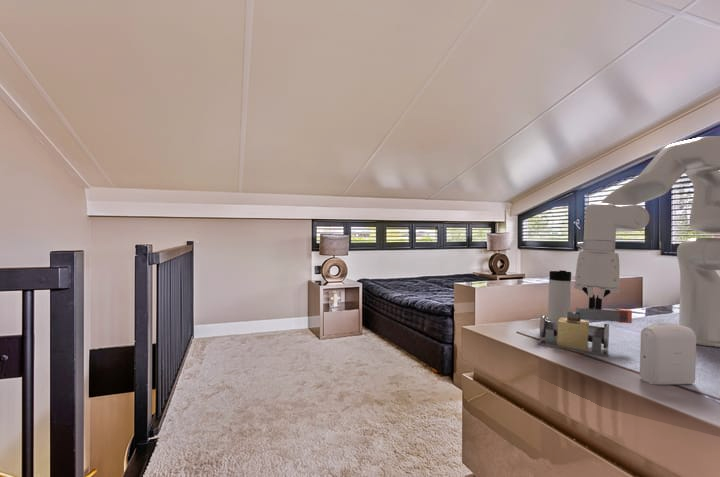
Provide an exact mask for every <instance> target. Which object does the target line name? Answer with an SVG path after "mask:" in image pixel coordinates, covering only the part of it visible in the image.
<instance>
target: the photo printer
mask: <svg viewBox="0 0 720 477" xmlns="http://www.w3.org/2000/svg"><path fill="white" fill-rule="evenodd" d="M639 348H640V353H639V354H640V356H639V357H640V358H639V376H640V378H641V380H642V381H643V382H646V384H647V383H648V384H651V385H688V384H689V385H691V384H695V382H696V366H697V365H696V364H697V361H696V360H697V354H696V353H697V344H696V335H695V333H694V332H693V330H692V329H690V328H688V327H685V326H682V325H679V323H675V322H674V323H672V322H658V323H654V324H650V325H647V326H645V327H643V328H642V329H641V332H640V346H639Z"/></svg>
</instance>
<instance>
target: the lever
mask: <svg viewBox="0 0 720 477" xmlns="http://www.w3.org/2000/svg"><path fill="white" fill-rule="evenodd" d="M575 309H576V310H575V311H570V312H567V320H570V321H580V320H586V321H601V322H614V323H615V322H616V323H617V322H618V323H620V324H621V323H622V324H623V323H624V324H632V323H633V322H632V320H633V319H632V318H633V310H631V309H628V308H615V309H614V308H589V307H582V306H581V307H580V306H576V308H575Z"/></svg>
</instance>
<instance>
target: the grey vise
mask: <svg viewBox="0 0 720 477" xmlns="http://www.w3.org/2000/svg"><path fill="white" fill-rule="evenodd" d="M609 334H610V325H609V323H604V324H603V327H602V326H597V325H590V320H583V319H581V320H580V321H570V320H567V318H564V317H560V319H559V320H558V321H556V320H549V319H548V317H547V315H545V314H541V316H540V321H539V337H540V339H539V341H537V342H538V343H537V344H538V346H539V345H540V346H545V347H550V348H556V349H561V350H567V351H572V352H577V353H578V352H579V353H583V354H589V355H594V356H600V357H606V358H608V357H609V341H610V340H609V337H610V335H609Z"/></svg>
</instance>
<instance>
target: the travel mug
mask: <svg viewBox="0 0 720 477" xmlns="http://www.w3.org/2000/svg"><path fill="white" fill-rule="evenodd" d="M548 275H549V279H548V297H547V300H548V301H547V303H548V304H547V319H549V320H556V321H558V320H559V319H560V317H564V318H567V312H571V299H572V272H571V271H567V270H561V269H560V270H549V274H548Z"/></svg>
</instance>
